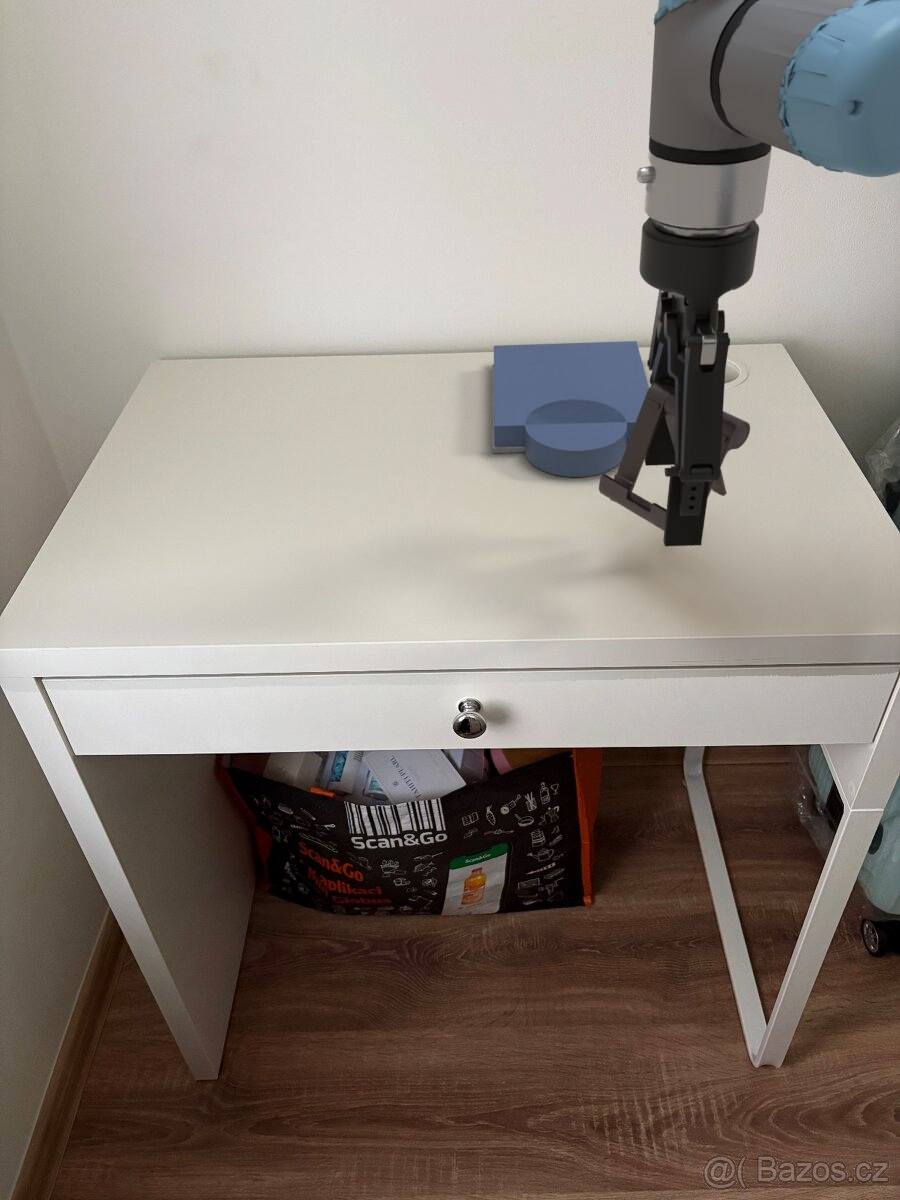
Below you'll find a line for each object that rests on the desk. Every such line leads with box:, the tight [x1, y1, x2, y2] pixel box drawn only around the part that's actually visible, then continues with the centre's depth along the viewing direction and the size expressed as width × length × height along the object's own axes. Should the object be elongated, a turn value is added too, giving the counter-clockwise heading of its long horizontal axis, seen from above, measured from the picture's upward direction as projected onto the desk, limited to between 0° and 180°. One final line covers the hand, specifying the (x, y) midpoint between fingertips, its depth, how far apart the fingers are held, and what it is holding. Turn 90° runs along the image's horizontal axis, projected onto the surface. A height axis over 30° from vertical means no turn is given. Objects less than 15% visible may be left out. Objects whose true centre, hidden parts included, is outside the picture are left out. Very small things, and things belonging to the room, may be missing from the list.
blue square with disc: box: [491, 340, 650, 478], centre depth 101 cm, size 23×16×3 cm
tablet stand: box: [598, 382, 751, 532], centre depth 75 cm, size 9×8×8 cm
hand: (671, 500), depth 77 cm, fingers closed on tablet stand, 11 cm apart
